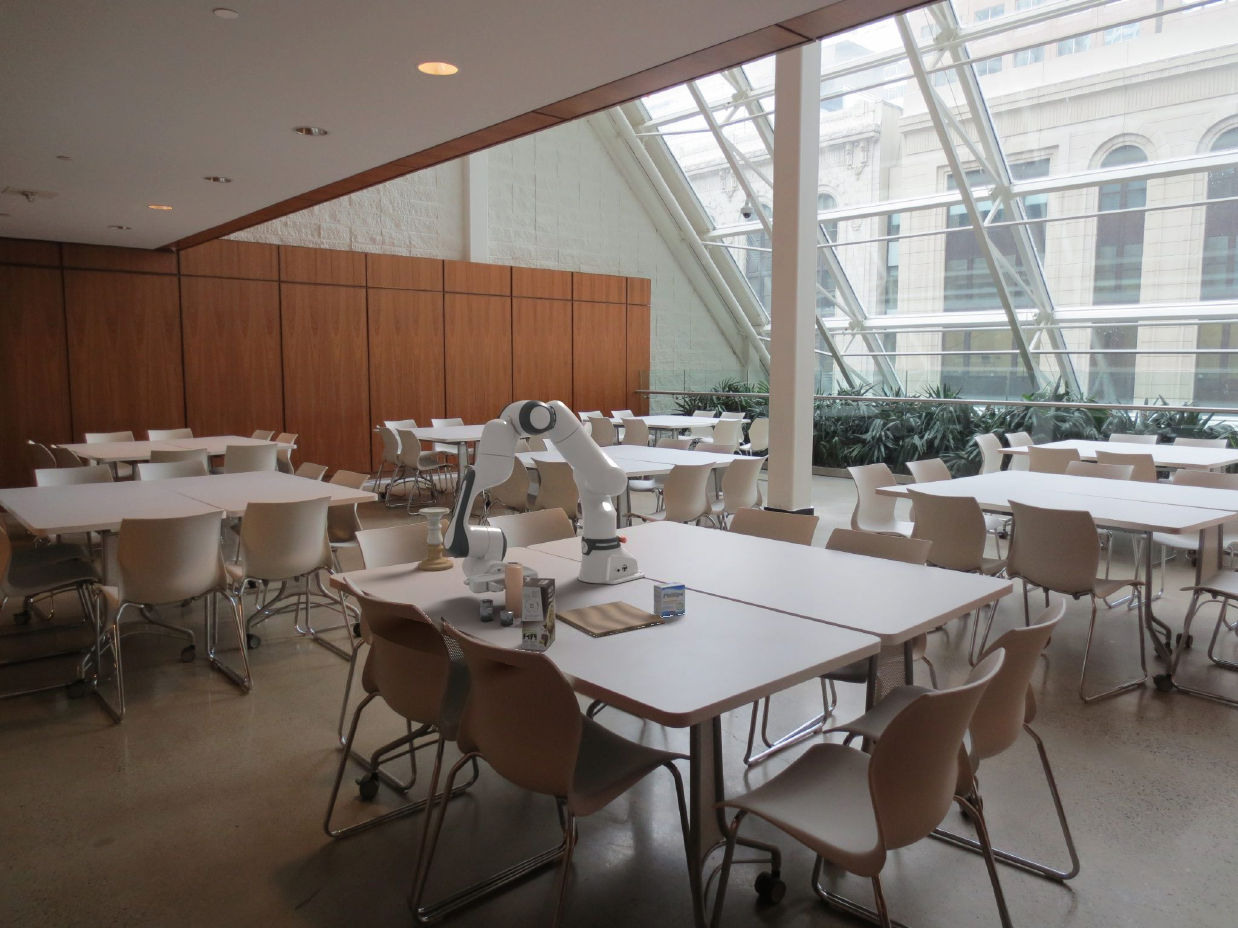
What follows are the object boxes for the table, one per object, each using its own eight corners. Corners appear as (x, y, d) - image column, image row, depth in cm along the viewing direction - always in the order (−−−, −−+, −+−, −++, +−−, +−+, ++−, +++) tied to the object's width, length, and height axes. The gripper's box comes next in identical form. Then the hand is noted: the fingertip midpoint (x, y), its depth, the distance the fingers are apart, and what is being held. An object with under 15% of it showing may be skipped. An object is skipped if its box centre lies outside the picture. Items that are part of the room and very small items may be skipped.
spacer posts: (533, 602, 251) (533, 591, 251) (564, 618, 236) (564, 605, 235) (468, 613, 240) (468, 601, 239) (496, 630, 224) (496, 617, 224)
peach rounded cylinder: (518, 611, 242) (517, 563, 240) (526, 615, 238) (525, 567, 236) (502, 614, 239) (501, 565, 238) (510, 618, 235) (509, 569, 234)
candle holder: (436, 561, 304) (435, 505, 302) (460, 565, 297) (459, 509, 295) (409, 567, 294) (408, 510, 292) (434, 572, 287) (432, 514, 285)
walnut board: (620, 604, 250) (620, 600, 250) (664, 623, 232) (664, 619, 231) (554, 616, 238) (554, 612, 238) (596, 637, 219) (596, 633, 219)
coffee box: (546, 651, 209) (545, 587, 207) (521, 649, 210) (520, 585, 208) (556, 639, 218) (556, 577, 216) (532, 637, 219) (531, 576, 217)
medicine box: (661, 618, 236) (661, 587, 235) (653, 614, 240) (653, 584, 239) (685, 614, 240) (685, 584, 239) (677, 610, 244) (677, 580, 243)
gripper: (460, 570, 242) (480, 580, 231) (524, 561, 254) (547, 570, 242) (461, 591, 243) (481, 603, 232) (525, 582, 254) (547, 592, 243)
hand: (515, 586), depth 237 cm, fingers open, 7 cm apart
